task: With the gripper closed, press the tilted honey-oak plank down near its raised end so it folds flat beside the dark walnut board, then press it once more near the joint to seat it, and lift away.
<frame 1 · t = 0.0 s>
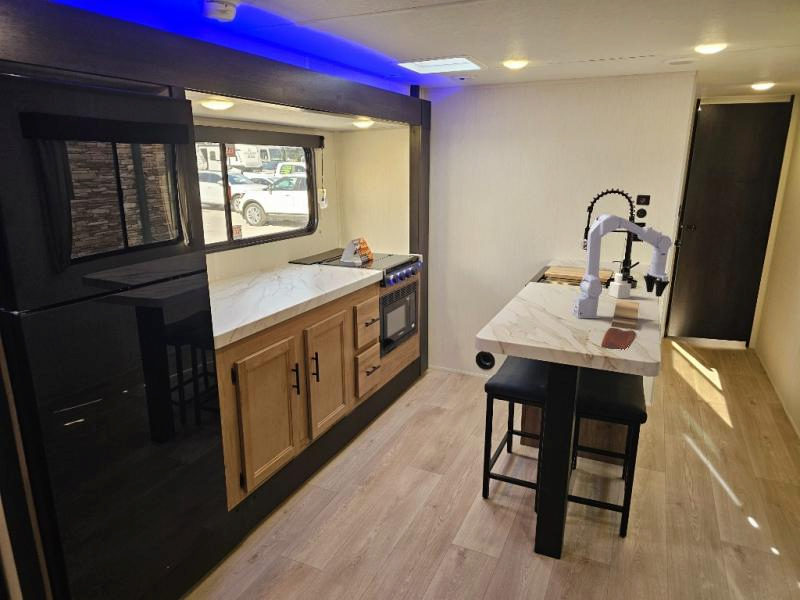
hand: (653, 294, 225), 10 cm above the kitchen island, tool pointing down, fingers open, 7 cm apart
oak plank: (626, 311, 222), point 3 cm above the kitchen island, hinge at 28.0°
walnut board: (623, 325, 214), on the kitchen island
wooden tablet: (616, 341, 196), on the kitchen island
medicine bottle: (618, 297, 262), on the kitchen island
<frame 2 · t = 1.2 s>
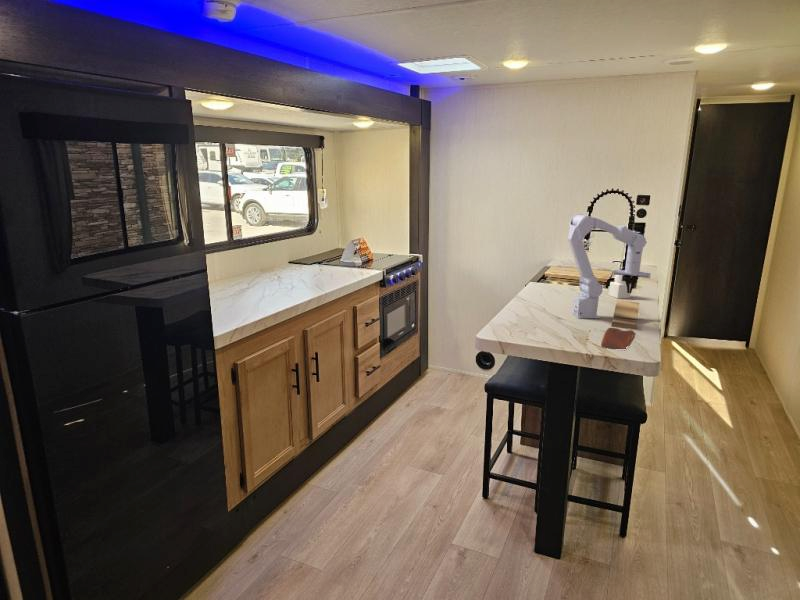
hand: (629, 292, 225), 10 cm above the kitchen island, tool pointing down, fingers closed
nothing on the kitchen island moved.
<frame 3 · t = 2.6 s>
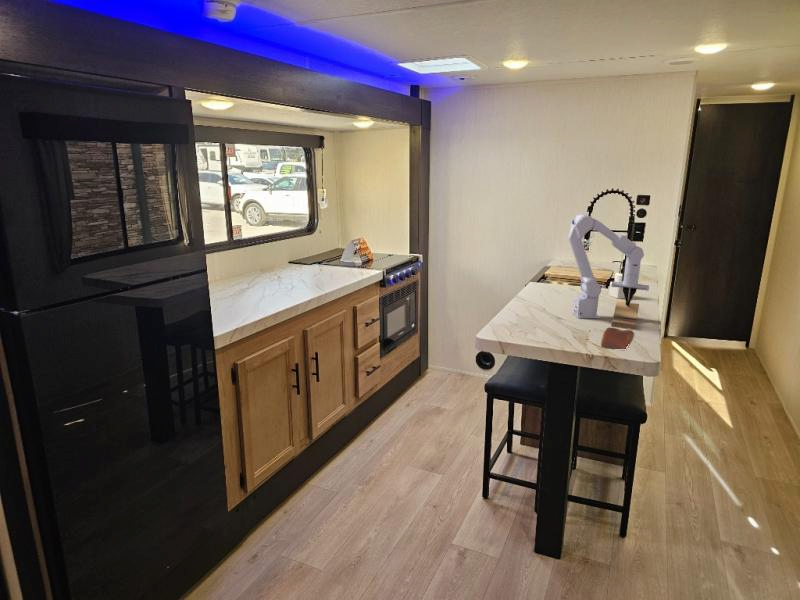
hand: (627, 305, 224), 6 cm above the kitchen island, tool pointing down, fingers closed, pressing on oak plank
oak plank: (626, 311, 222), point 3 cm above the kitchen island, hinge at 24.4°, touching gripper
everything else where it was.
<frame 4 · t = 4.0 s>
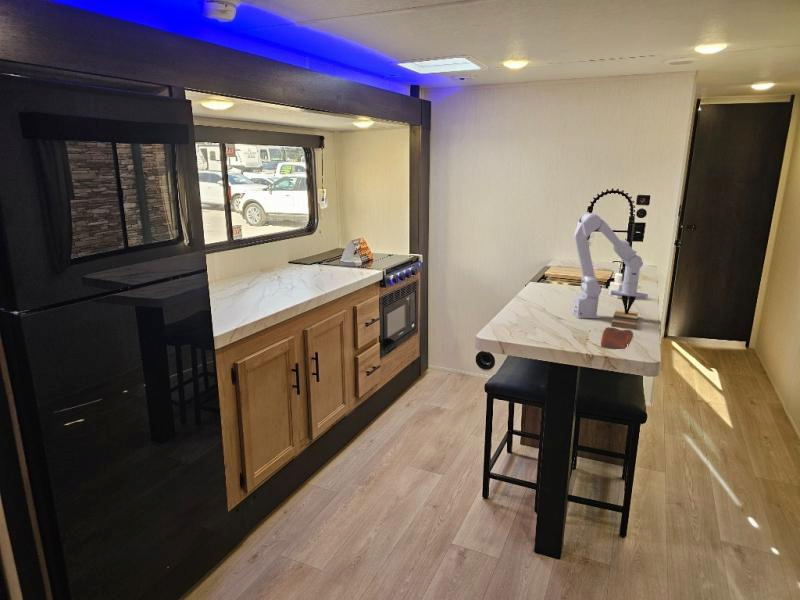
hand: (626, 313, 225), 2 cm above the kitchen island, tool pointing down, fingers closed, pressing on oak plank
oak plank: (625, 316, 224), point 1 cm above the kitchen island, hinge at 1.1°, touching gripper
everything else where it was.
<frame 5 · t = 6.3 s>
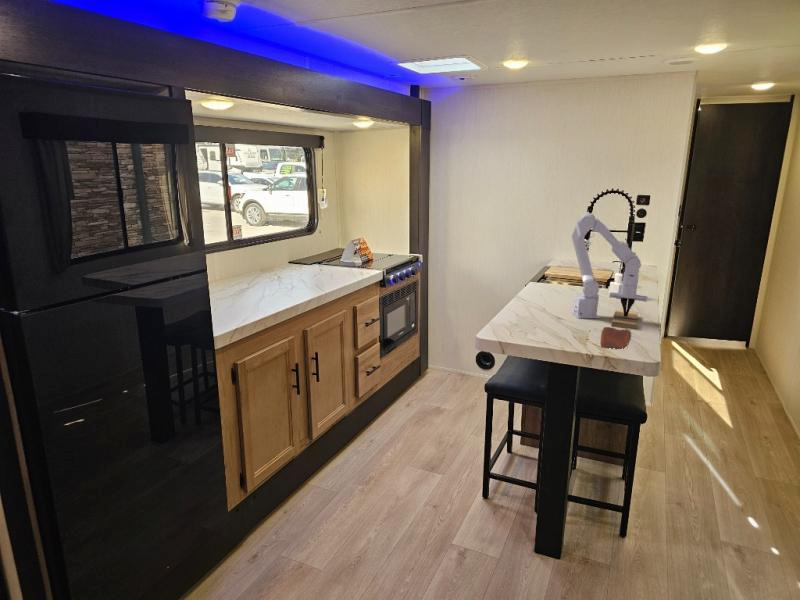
hand: (625, 315, 221), 2 cm above the kitchen island, tool pointing down, fingers closed, pressing on oak plank
oak plank: (625, 316, 224), point 1 cm above the kitchen island, hinge at 1.0°, touching gripper
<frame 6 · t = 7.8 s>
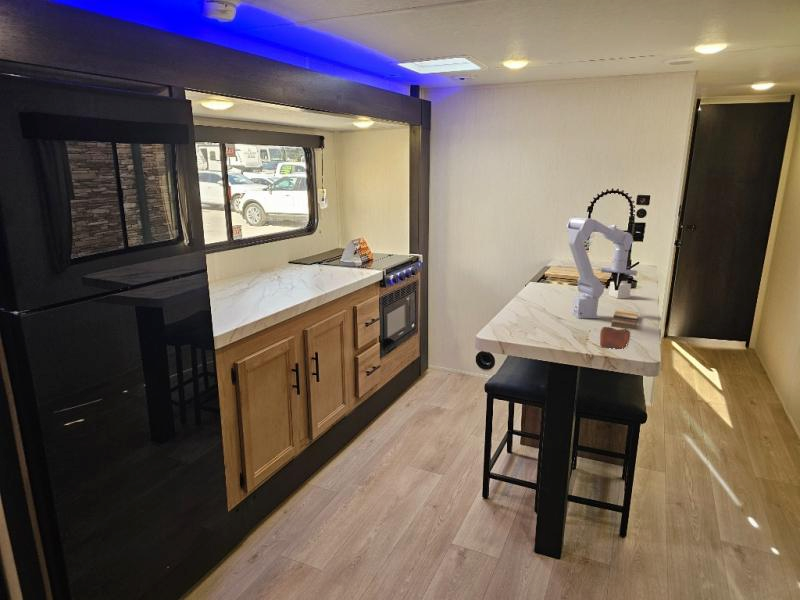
hand: (616, 289, 230), 10 cm above the kitchen island, tool pointing down, fingers closed
oak plank: (625, 316, 224), point 1 cm above the kitchen island, hinge at 0.9°
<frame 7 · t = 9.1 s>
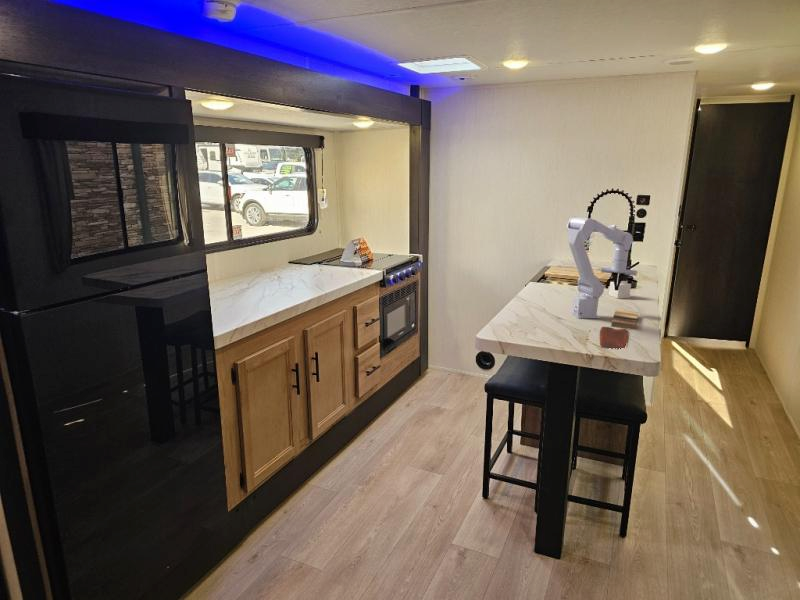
hand: (616, 289, 230), 10 cm above the kitchen island, tool pointing down, fingers closed
at the end: oak plank at +1° (first picture: +28°); wooden tablet moved 1.8 cm from its start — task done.
